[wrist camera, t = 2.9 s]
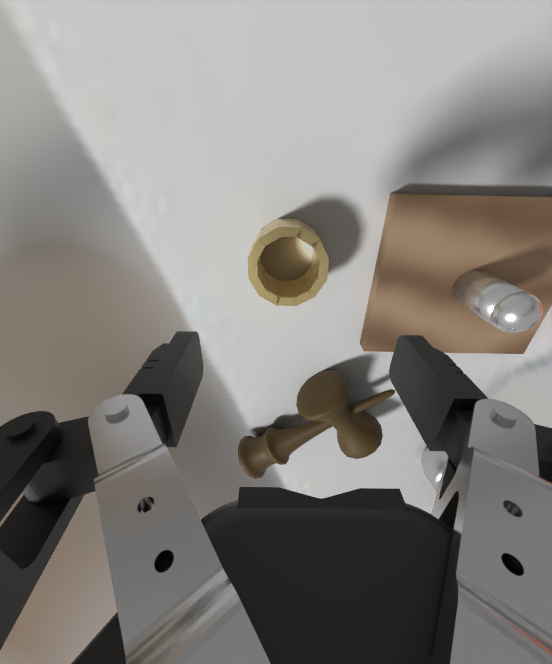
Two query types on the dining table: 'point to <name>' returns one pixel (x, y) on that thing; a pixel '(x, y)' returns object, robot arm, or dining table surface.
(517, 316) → the steel post
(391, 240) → the walnut base plate
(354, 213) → the dining table surface
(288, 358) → the dining table surface
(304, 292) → the brass ring
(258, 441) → the kendama
